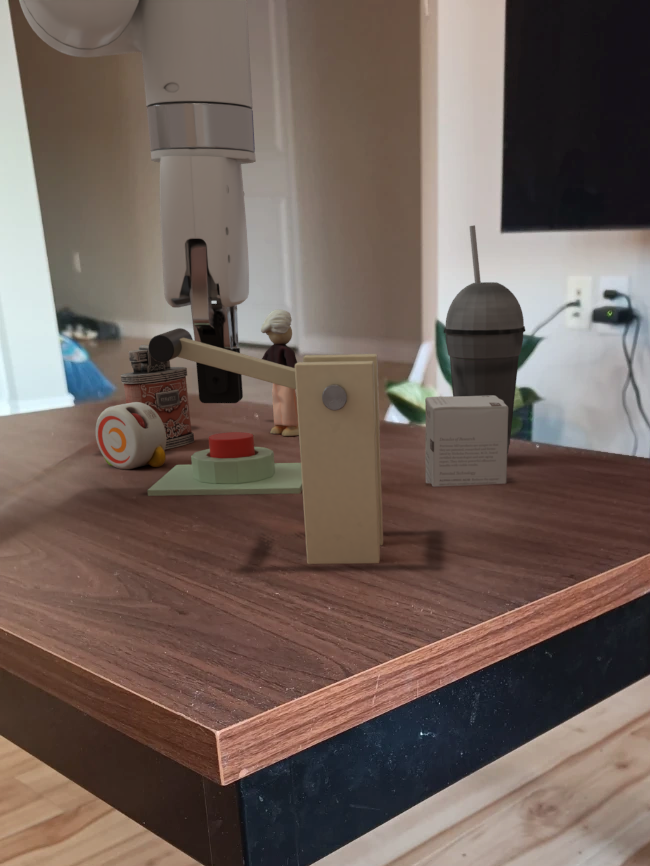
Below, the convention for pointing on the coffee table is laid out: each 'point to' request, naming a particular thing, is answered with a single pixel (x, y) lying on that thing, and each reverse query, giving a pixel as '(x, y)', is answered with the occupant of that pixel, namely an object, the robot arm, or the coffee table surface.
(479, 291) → the beverage cup
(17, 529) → the coffee table surface
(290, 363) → the grandmother figurine
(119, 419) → the roller toy
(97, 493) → the coffee table surface
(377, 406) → the lever bracket
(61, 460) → the coffee table surface
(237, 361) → the lever
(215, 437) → the button
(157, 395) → the lighter
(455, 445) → the product carton
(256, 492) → the button block
